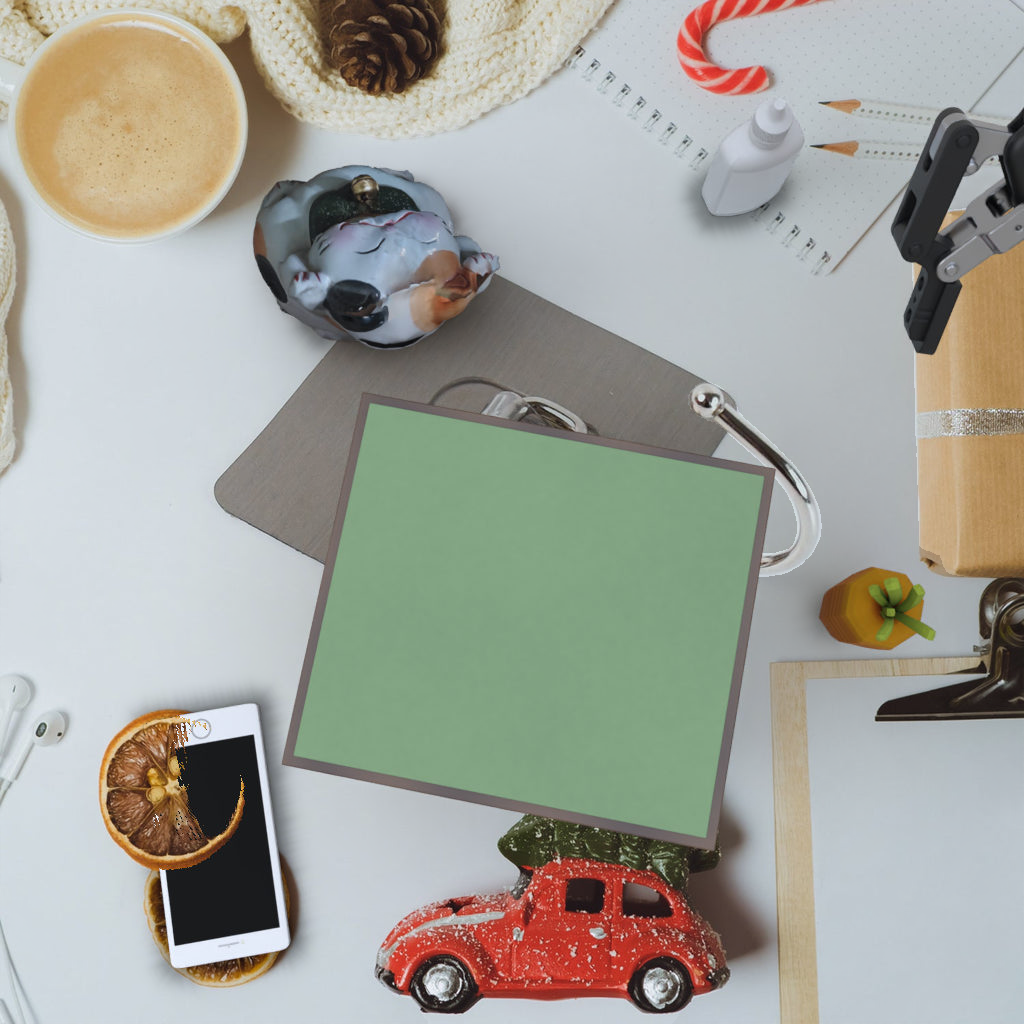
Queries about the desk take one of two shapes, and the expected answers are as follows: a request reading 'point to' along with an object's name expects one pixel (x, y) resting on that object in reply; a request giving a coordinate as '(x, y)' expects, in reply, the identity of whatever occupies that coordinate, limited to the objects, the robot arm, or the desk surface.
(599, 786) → the cloth
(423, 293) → the lucky cat figurine
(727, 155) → the eye dropper bottle
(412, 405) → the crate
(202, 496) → the desk surface
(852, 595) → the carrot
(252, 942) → the cell phone
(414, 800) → the desk surface
